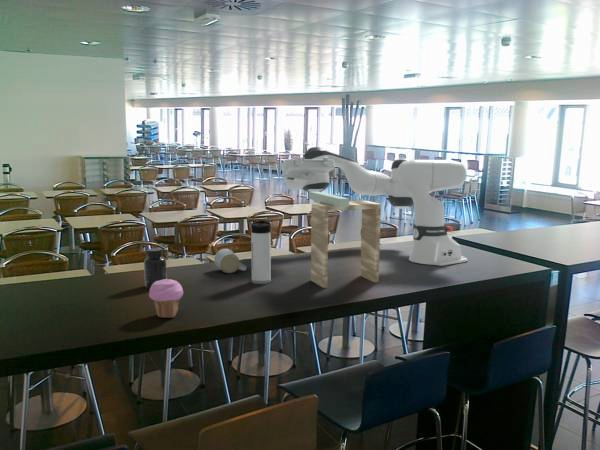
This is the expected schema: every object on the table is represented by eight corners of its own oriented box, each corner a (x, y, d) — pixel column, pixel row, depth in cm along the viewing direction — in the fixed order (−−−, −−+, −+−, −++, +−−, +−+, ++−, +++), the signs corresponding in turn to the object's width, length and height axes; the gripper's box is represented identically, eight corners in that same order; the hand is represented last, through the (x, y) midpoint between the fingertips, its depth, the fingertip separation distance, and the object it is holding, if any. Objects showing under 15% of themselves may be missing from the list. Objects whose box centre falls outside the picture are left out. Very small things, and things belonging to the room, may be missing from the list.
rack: (364, 275, 191) (366, 200, 187) (378, 282, 182) (380, 203, 178) (310, 280, 184) (311, 202, 180) (323, 287, 175) (324, 205, 171)
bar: (318, 198, 191) (318, 191, 191) (349, 206, 169) (349, 198, 169) (309, 198, 190) (309, 191, 190) (339, 207, 168) (339, 198, 168)
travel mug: (272, 279, 185) (272, 220, 182) (269, 284, 178) (268, 223, 175) (253, 279, 185) (253, 220, 182) (250, 284, 179) (249, 223, 176)
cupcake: (181, 321, 142) (180, 283, 141) (147, 321, 142) (145, 283, 140) (185, 310, 151) (184, 274, 150) (153, 311, 150) (152, 275, 149)
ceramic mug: (220, 275, 190) (220, 253, 189) (214, 270, 198) (214, 249, 196) (249, 273, 195) (250, 251, 193) (242, 268, 202) (242, 247, 201)
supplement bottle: (160, 282, 180) (158, 246, 178) (171, 286, 175) (170, 249, 173) (140, 286, 175) (139, 249, 173) (151, 290, 170) (150, 252, 169)
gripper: (328, 178, 223) (341, 167, 210) (280, 178, 216) (290, 167, 204) (327, 163, 224) (339, 151, 211) (278, 163, 218) (288, 151, 205)
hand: (315, 159), depth 207 cm, fingers open, 8 cm apart
